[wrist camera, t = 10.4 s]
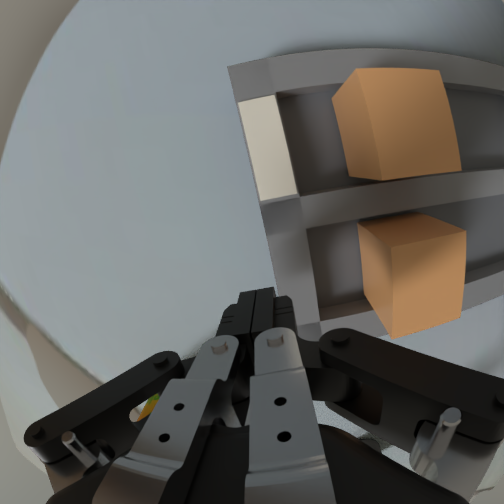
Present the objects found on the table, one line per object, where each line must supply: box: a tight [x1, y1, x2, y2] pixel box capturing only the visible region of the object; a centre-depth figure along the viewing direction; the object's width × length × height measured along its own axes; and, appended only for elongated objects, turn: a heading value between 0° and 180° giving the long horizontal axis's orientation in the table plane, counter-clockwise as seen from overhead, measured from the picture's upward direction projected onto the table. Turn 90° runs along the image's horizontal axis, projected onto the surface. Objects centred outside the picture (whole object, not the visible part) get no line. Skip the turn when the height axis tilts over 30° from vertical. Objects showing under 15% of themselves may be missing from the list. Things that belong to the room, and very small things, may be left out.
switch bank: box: [227, 48, 504, 341], centre depth 14 cm, size 22×16×4 cm
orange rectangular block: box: [357, 212, 466, 339], centre depth 13 cm, size 4×4×5 cm
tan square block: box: [331, 68, 462, 181], centre depth 11 cm, size 4×4×5 cm
